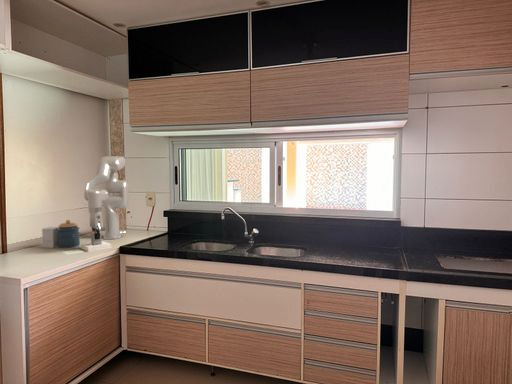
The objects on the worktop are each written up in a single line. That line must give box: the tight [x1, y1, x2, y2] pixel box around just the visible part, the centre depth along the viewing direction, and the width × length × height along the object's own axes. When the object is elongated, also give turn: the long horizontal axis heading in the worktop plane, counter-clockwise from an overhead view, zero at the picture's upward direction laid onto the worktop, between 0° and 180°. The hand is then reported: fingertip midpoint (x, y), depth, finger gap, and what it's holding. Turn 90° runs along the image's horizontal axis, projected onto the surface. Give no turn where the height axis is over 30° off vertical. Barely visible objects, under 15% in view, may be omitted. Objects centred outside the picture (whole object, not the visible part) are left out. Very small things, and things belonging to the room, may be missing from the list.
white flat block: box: [80, 240, 112, 252], centre depth 219 cm, size 14×12×3 cm
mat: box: [61, 249, 84, 256], centre depth 209 cm, size 10×10×1 cm
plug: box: [90, 230, 103, 245], centre depth 219 cm, size 5×4×8 cm
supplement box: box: [41, 226, 59, 249], centre depth 226 cm, size 7×7×13 cm
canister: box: [57, 219, 81, 249], centre depth 226 cm, size 13×13×18 cm
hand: (96, 238), depth 219 cm, fingers closed on plug, 3 cm apart
